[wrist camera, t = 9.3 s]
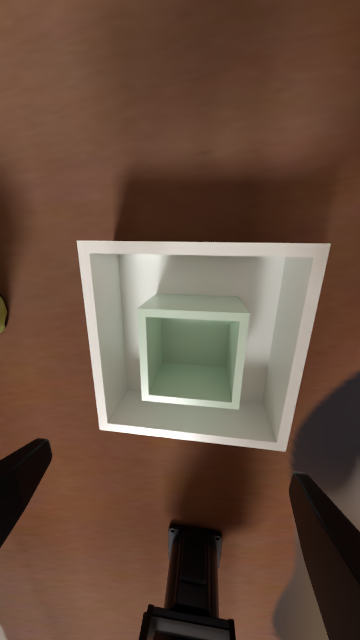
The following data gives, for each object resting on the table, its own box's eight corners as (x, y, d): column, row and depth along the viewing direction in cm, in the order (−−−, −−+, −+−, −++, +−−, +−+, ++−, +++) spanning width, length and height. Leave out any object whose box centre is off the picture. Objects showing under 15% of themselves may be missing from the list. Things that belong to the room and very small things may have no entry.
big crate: (267, 404, 20) (285, 451, 15) (123, 390, 21) (99, 429, 17) (293, 246, 16) (330, 243, 11) (112, 244, 17) (76, 240, 13)
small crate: (230, 369, 18) (238, 409, 14) (158, 364, 19) (141, 400, 15) (237, 296, 17) (250, 313, 12) (156, 293, 17) (137, 308, 13)
